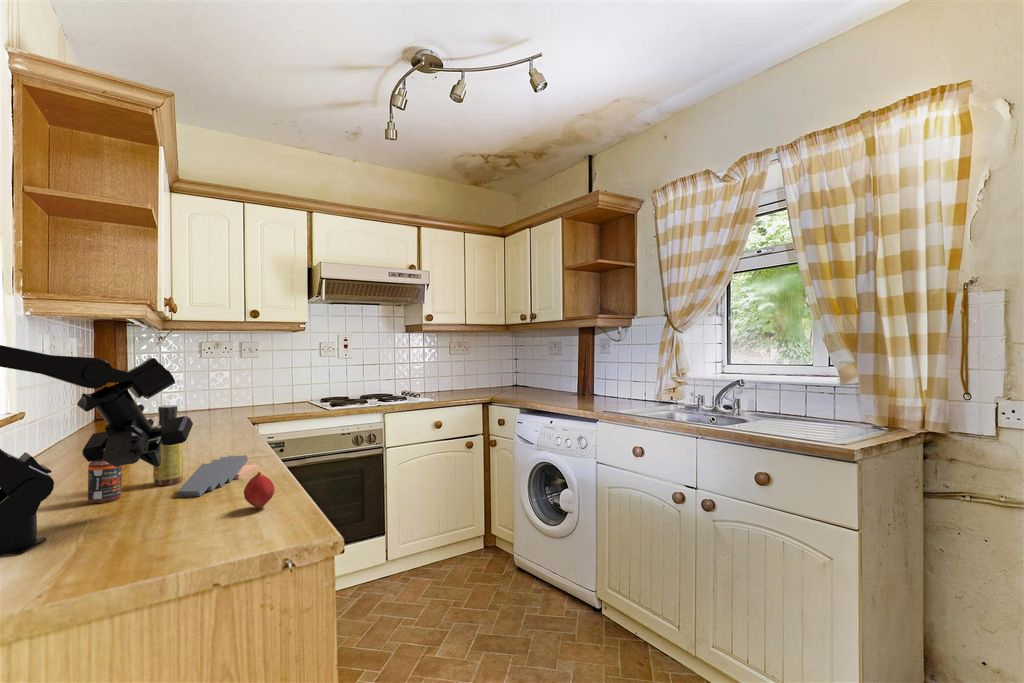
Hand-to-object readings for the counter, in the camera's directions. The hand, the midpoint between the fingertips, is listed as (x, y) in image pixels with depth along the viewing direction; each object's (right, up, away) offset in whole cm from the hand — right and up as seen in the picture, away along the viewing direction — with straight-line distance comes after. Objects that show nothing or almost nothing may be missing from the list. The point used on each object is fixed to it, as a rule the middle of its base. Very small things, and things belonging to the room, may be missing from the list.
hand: (158, 465), depth 107 cm
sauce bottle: (-11, -10, +19) cm, 24 cm away
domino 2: (+2, -8, +11) cm, 14 cm away
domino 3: (+2, -9, +15) cm, 17 cm away
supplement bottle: (-16, -10, +5) cm, 20 cm away
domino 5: (+3, -9, +23) cm, 24 cm away
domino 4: (+2, -9, +19) cm, 21 cm away
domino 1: (+2, -8, +7) cm, 11 cm away
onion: (+22, -9, -1) cm, 24 cm away
